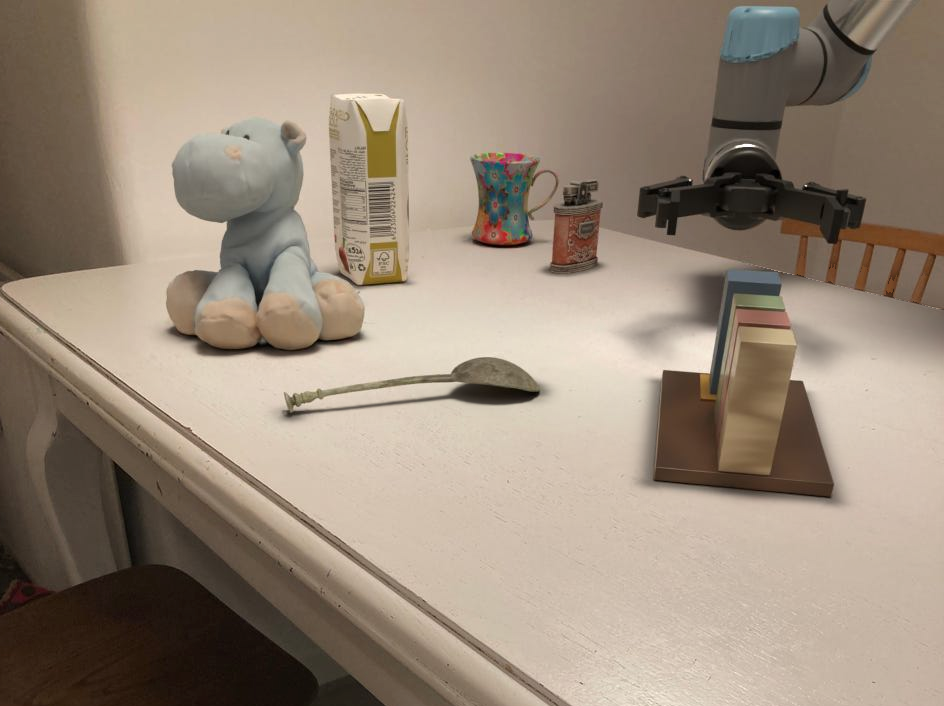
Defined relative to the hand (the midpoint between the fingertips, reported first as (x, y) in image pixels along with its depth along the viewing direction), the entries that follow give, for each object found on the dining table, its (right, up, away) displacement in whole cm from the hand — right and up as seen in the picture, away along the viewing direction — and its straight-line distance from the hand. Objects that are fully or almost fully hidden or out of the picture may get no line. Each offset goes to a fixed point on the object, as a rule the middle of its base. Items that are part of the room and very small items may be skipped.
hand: (753, 222), depth 82 cm
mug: (-18, +20, +52) cm, 58 cm away
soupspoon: (-29, -16, -2) cm, 33 cm away
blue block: (-2, -15, -2) cm, 15 cm away
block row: (-3, -19, -7) cm, 21 cm away
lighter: (-11, +11, +40) cm, 43 cm away
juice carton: (-36, +8, +33) cm, 49 cm away
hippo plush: (-45, -3, +17) cm, 48 cm away
